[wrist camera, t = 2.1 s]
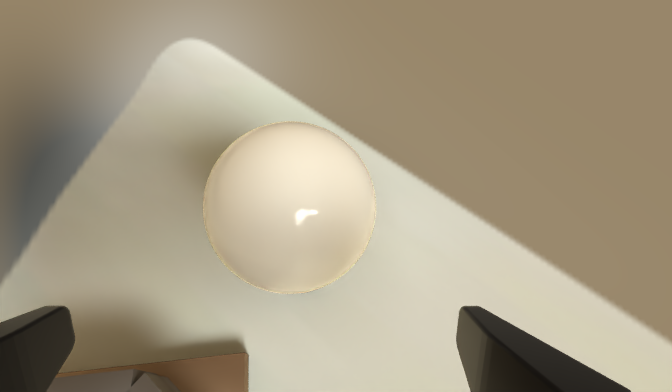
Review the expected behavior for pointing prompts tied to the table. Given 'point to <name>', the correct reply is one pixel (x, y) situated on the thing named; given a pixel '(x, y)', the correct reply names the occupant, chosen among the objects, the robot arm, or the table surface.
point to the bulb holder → (162, 376)
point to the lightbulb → (289, 207)
